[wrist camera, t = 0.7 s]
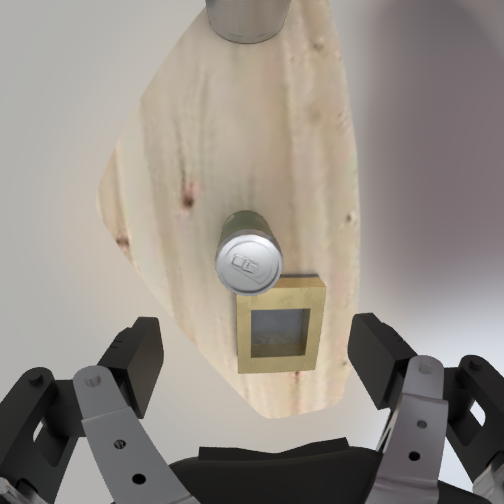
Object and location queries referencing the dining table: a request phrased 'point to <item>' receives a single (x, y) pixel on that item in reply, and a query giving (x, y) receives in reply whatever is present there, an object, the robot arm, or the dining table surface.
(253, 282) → the beer can
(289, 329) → the socket block
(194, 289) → the dining table surface
